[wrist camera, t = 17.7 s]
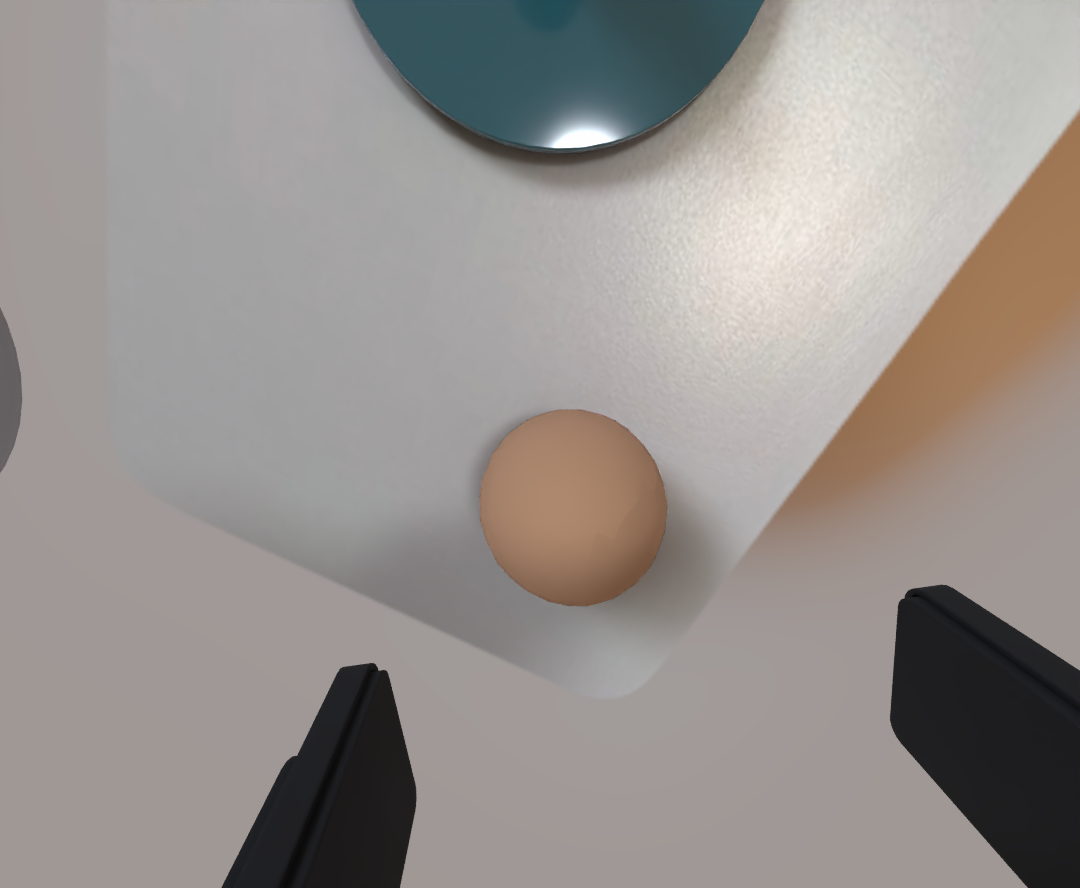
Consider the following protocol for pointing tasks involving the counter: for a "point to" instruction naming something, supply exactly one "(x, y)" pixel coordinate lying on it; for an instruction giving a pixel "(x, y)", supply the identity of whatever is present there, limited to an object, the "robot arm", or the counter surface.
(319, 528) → the counter surface
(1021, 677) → the robot arm
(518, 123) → the saucepan lid
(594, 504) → the egg
